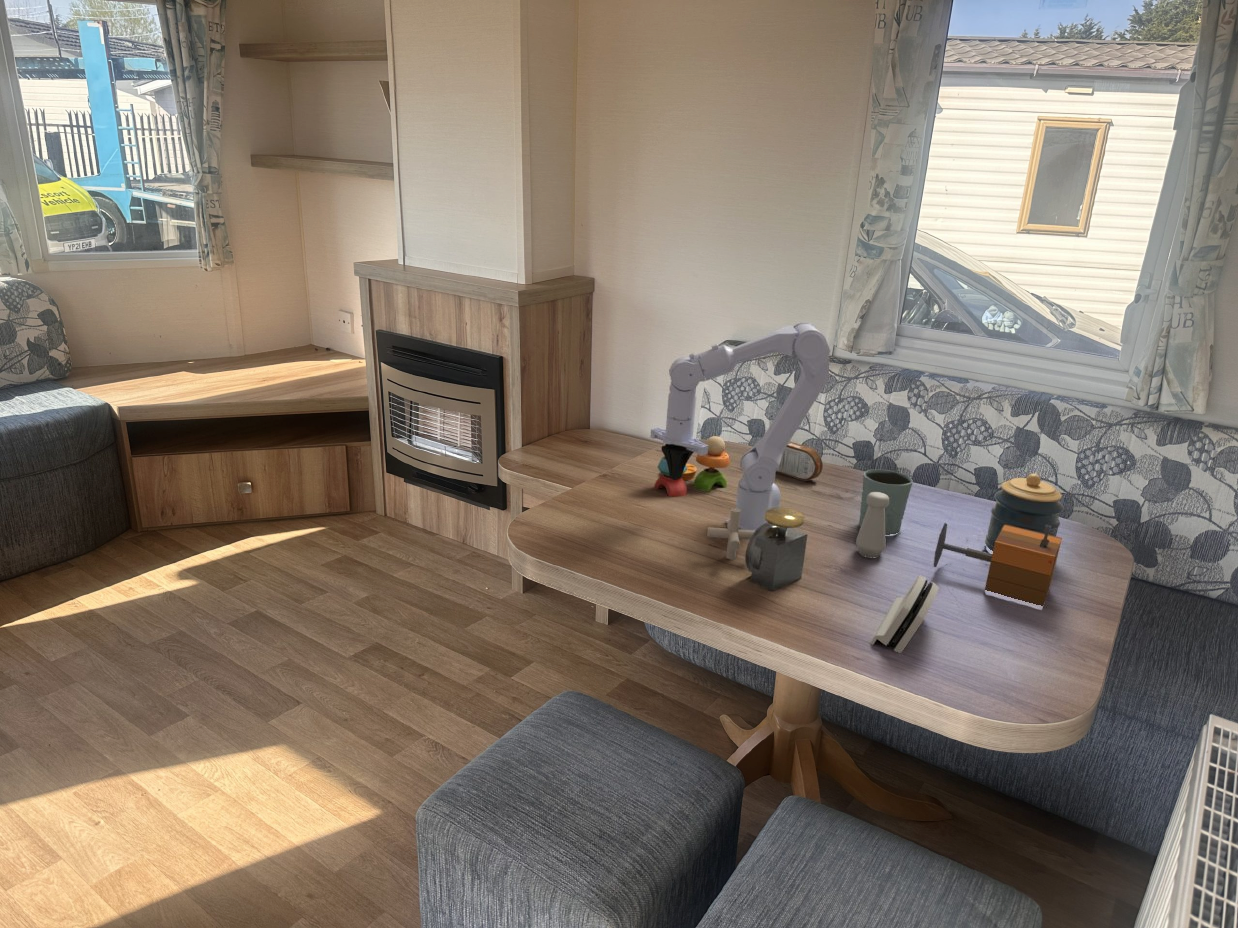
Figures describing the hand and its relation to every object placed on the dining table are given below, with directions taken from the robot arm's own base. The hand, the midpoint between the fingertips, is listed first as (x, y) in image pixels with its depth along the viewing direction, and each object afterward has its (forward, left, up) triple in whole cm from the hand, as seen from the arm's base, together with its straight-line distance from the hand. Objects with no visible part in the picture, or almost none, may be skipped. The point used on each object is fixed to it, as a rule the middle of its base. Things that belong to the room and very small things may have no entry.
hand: (675, 478), depth 185 cm
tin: (-46, -2, -10) cm, 47 cm away
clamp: (-27, +58, -10) cm, 65 cm away
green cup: (-34, +30, -10) cm, 46 cm away
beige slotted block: (+3, +57, -10) cm, 58 cm away
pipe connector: (+4, +20, -10) cm, 23 cm away
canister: (-46, +55, -10) cm, 72 cm away
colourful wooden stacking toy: (-18, -14, -10) cm, 25 cm away
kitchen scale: (+5, +31, -9) cm, 33 cm away
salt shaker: (-20, +36, -10) cm, 42 cm away
